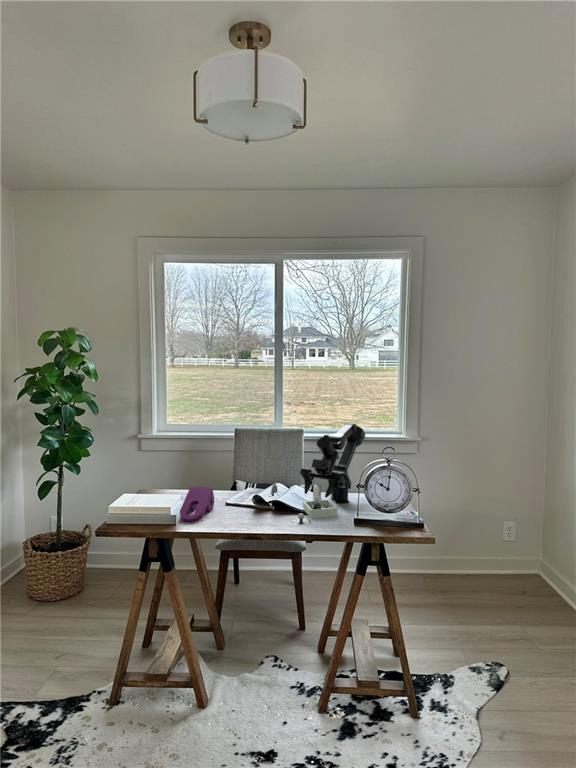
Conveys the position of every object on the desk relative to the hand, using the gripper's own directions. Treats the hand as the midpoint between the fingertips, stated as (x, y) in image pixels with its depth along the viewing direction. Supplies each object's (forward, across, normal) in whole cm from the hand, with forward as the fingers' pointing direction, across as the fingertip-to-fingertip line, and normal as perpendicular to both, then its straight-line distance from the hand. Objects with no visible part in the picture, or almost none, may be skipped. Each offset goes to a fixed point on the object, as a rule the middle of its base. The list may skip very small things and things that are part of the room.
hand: (315, 495), depth 194 cm
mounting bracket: (+22, -43, -9) cm, 49 cm away
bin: (+4, 0, +9) cm, 10 cm away
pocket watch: (+1, -27, +12) cm, 30 cm away
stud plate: (+13, -1, 0) cm, 13 cm away
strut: (+5, 0, +7) cm, 9 cm away
